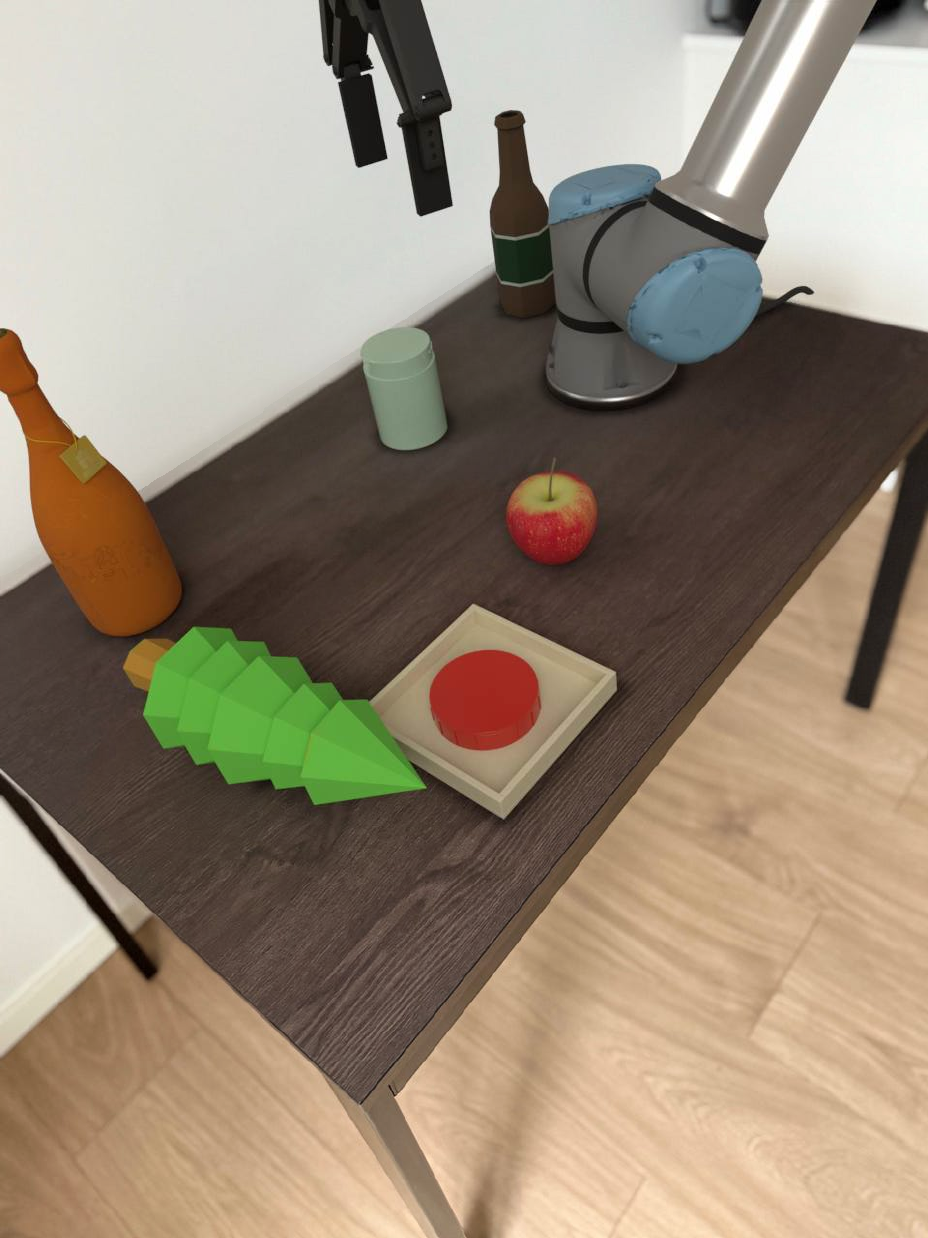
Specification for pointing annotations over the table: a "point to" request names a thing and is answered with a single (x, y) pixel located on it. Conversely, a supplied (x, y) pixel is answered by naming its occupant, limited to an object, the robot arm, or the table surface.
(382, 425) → the jar
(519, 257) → the beer bottle
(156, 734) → the decorative tree
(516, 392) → the table surface
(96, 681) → the table surface
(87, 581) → the wine bottle
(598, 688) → the tray
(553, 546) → the apple
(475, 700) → the lid
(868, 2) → the robot arm
